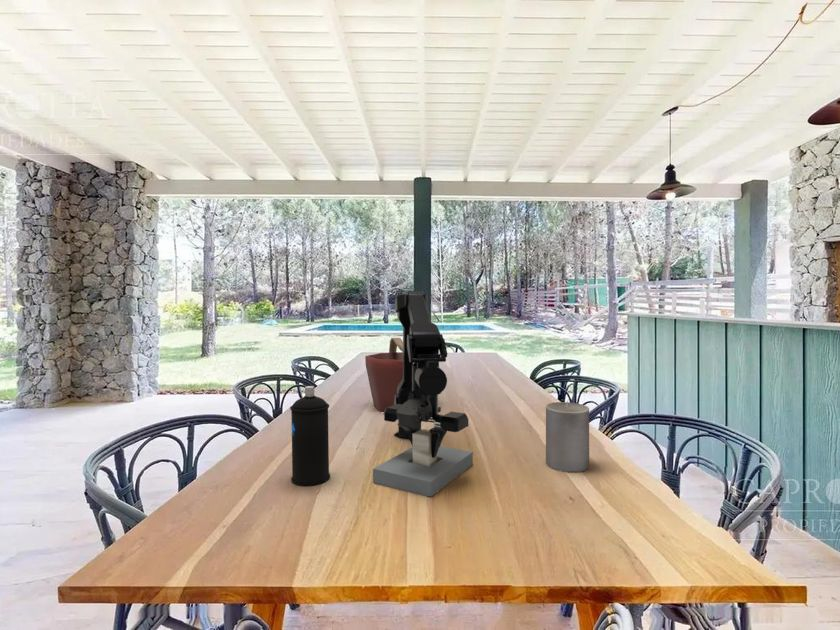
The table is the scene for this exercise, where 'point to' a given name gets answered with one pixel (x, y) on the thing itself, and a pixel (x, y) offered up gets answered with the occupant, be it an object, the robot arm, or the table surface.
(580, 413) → the pillar candle
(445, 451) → the socket block
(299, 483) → the aerosol can
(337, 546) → the table surface
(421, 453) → the cream peg
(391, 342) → the bucket
